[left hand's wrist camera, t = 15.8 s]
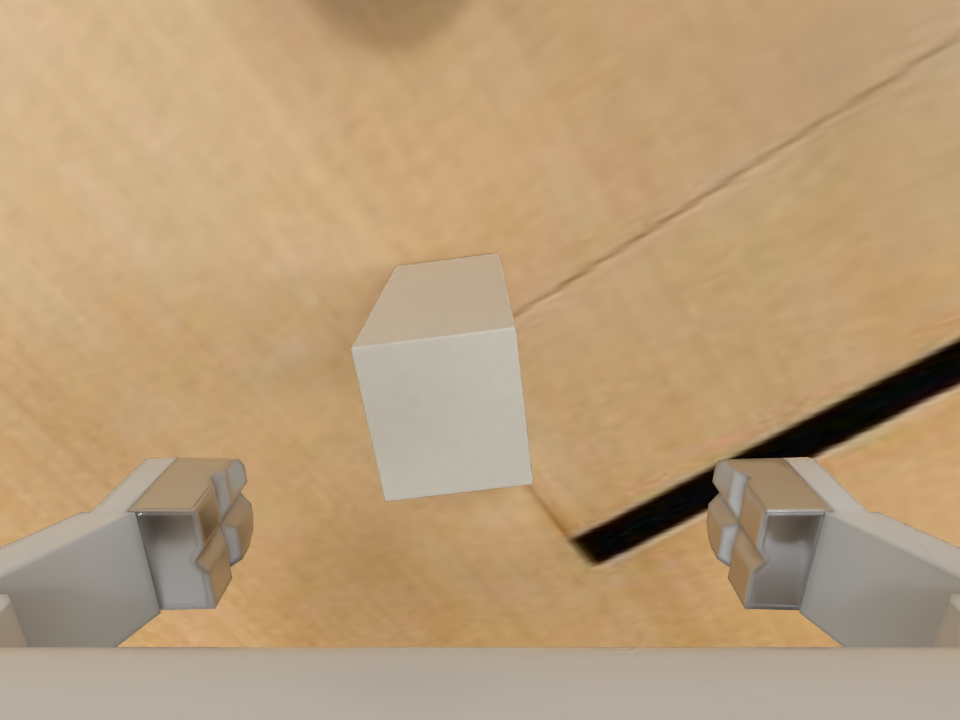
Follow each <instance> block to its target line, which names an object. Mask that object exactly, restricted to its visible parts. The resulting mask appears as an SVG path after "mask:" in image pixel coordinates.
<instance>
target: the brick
mask: <svg viewBox="0 0 960 720" xmlns="http://www.w3.org/2000/svg"><path fill="white" fill-rule="evenodd" d="M351 352H352V356H353V361H354V365H355V370H356V374H357V378H358V383H359V387H360V392H361V396H362V401H363V405H364V410H365V414H366V419H367V423H368V427H369V432H370V436H371V441H372V445H373V450H374V454H375V459H376V463H377V468H378V472H379V476H380V481H381V485H382V490H383V494H384V499H385V501H394V500H403V499H411V498H420V497H428V496H437V495H445V494H454V493H462V492H471V491H479V490H488V489H496V488H505V487H513V486H522V485H530V484H532V483H533V475H532V467H531V458H530V449H529V440H528V431H527V422H526V413H525V404H524V396H523V387H522V378H521V369H520V360H519V351H518V342H517V333H516V327H515V322H514V318H513V313H512V309H511V304H510V300H509V295H508V291H507V286H506V281H505V277H504V272H503V268H502V263H501V259H500V255H499V253H493V254H486V255H478V256H470V257H463V258H455V259H448V260H440V261H432V262H425V263H417V264H410V265H402V266H396V267H395V269H394V270H393V272H392V274H391V276H390V278H389V280H388V281H387V283H386V285H385V287H384V289H383V291H382V293H381V294H380V296H379V298H378V300H377V302H376V304H375V305H374V307H373V309H372V311H371V313H370V315H369V316H368V318H367V320H366V322H365V324H364V326H363V328H362V329H361V331H360V333H359V335H358V337H357V339H356V340H355V342H354V344H353V346H352V348H351Z"/></svg>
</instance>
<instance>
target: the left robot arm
mask: <svg viewBox="0 0 960 720" xmlns="http://www.w3.org/2000/svg"><path fill="white" fill-rule="evenodd" d="M246 483H247V477H246V473H245V468H244V464H243V463H242V462H241V461H240V460H239V459H211V458H178V457H174V458H150V459H145V460H144V461H143V462H142V463H141V464H140V465H139V466H138V467H137V468H136V469H135V470H134V471H133V472H132V473H131V474H130V475H129V476H128V477H127V478H126V479H125V480H124V481H123V482H122V483H121V484H120V485H118V486H117V487H116V488H115V489H114V490H113V491H112V492H111V493H110V494H109V495H108V496H107V497H106V498H105V499H104V500H103V501H102V502H101V503H100V504H99V505H98V506H97V507H96V508H95V509H94V510H93V511H92V512H81V513H79V514H76V515H74V516H72V517H69V518H67V519H65V520H62V521H60V522H58V523H56V524H53V525H51V526H49V527H46V528H44V529H42V530H40V531H37V532H35V533H33V534H30V535H28V536H26V537H23V538H21V539H19V540H17V541H14V542H12V543H10V544H7V545H5V546H3V547H1V548H0V720H960V548H959V547H957V546H955V545H952V544H950V543H948V542H946V541H943V540H941V539H939V538H936V537H934V536H932V535H930V534H927V533H925V532H923V531H920V530H918V529H916V528H913V527H911V526H909V525H907V524H904V523H902V522H900V521H897V520H895V519H893V518H891V517H888V516H886V515H884V514H881V513H879V512H868V511H867V510H866V509H865V508H864V507H863V506H862V505H861V504H860V503H859V502H858V501H857V500H856V499H855V498H854V497H853V496H852V495H851V494H850V493H849V492H848V491H847V490H846V489H845V488H844V487H843V486H842V485H841V484H840V483H839V482H838V481H837V480H836V479H834V478H833V477H832V476H831V475H830V474H829V473H828V472H827V471H826V470H825V469H824V468H823V467H822V466H821V465H820V464H819V463H818V462H817V461H816V460H814V459H811V458H808V457H801V458H771V459H730V460H719V461H718V463H717V466H716V468H715V471H714V477H713V483H714V484H715V486H716V488H717V489H718V491H719V492H720V493H719V494H718V495H717V496H716V497H715V498H714V499H713V500H712V501H711V502H710V503H709V507H708V514H707V530H708V538H709V541H710V544H711V548H712V550H713V552H714V554H715V555H716V557H717V559H718V560H720V561H721V562H723V563H724V564H726V565H727V566H729V567H730V569H729V575H728V579H729V581H730V583H731V585H732V586H733V588H734V590H735V592H736V594H737V595H738V597H739V599H740V601H741V603H742V604H743V606H744V608H745V609H777V610H800V612H799V613H801V614H802V615H803V616H805V617H806V618H807V619H808V620H810V621H811V622H812V623H814V624H815V625H816V626H817V627H819V628H820V629H821V630H823V631H824V632H825V633H826V634H828V635H829V636H830V637H832V638H833V639H834V640H835V641H837V642H838V643H839V644H841V645H842V646H843V647H117V646H118V645H120V644H121V643H122V642H124V641H125V640H126V639H127V638H129V637H130V636H131V635H133V634H134V633H135V632H136V631H138V630H139V629H140V628H142V627H143V626H144V625H145V624H147V623H148V622H149V621H151V620H152V619H153V618H154V617H156V616H157V615H158V614H160V610H182V609H215V608H216V606H217V604H218V603H219V601H220V599H221V597H222V595H223V594H224V592H225V590H226V588H227V586H228V585H229V583H230V581H231V579H232V574H231V569H230V567H231V566H233V565H234V564H236V563H237V562H239V561H240V560H242V559H243V557H244V555H245V554H246V552H247V550H248V548H249V545H250V540H251V536H252V532H253V513H252V506H251V503H250V502H249V501H248V500H247V499H246V498H245V497H244V496H243V495H242V494H241V493H240V492H241V491H242V489H243V488H244V486H245V484H246Z"/></svg>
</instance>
